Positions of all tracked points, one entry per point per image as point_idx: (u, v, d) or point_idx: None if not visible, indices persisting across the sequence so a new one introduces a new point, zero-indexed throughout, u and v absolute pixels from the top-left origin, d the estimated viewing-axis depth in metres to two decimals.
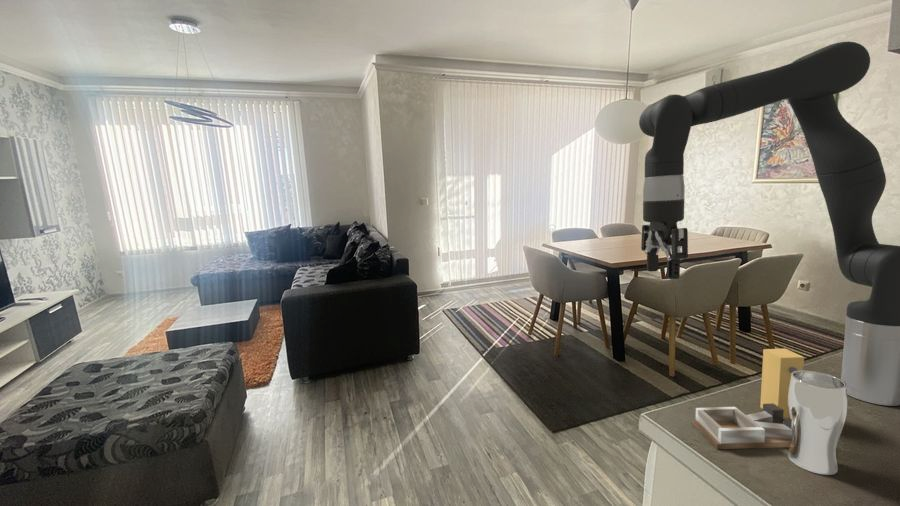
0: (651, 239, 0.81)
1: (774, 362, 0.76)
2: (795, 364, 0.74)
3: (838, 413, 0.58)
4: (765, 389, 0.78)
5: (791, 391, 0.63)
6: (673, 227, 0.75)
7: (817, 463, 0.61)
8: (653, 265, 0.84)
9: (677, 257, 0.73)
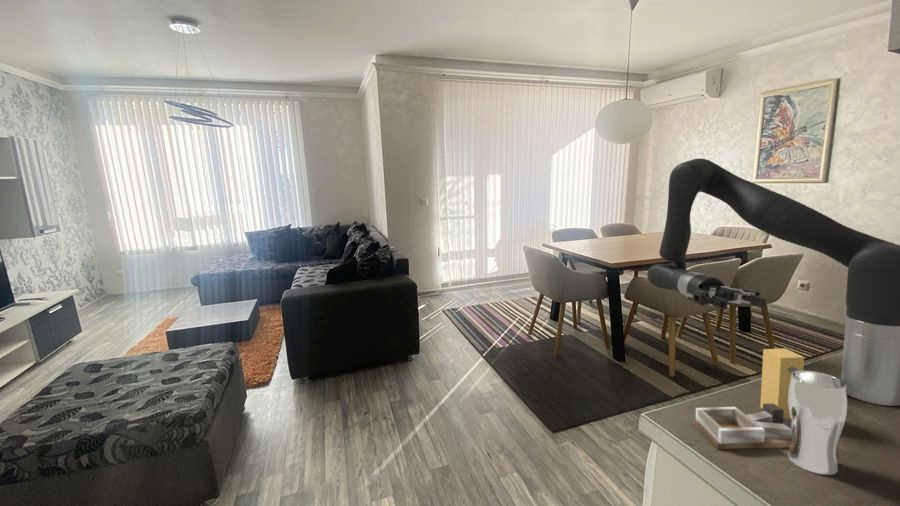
0: (728, 301, 0.93)
1: (774, 362, 0.76)
2: (795, 364, 0.74)
3: (838, 413, 0.58)
4: (765, 389, 0.78)
5: (791, 391, 0.63)
6: (699, 292, 0.96)
7: (817, 463, 0.61)
8: (757, 302, 0.87)
9: (700, 302, 0.91)
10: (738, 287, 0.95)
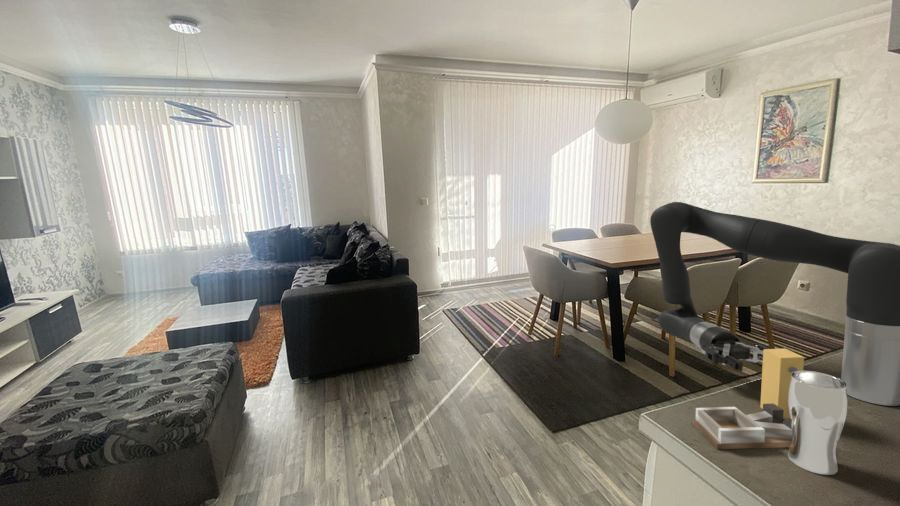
0: None
1: (774, 362, 0.76)
2: (795, 364, 0.74)
3: (838, 413, 0.58)
4: (765, 389, 0.78)
5: (791, 391, 0.63)
6: None
7: (817, 463, 0.61)
8: None
9: (713, 361, 0.87)
10: (754, 343, 0.92)
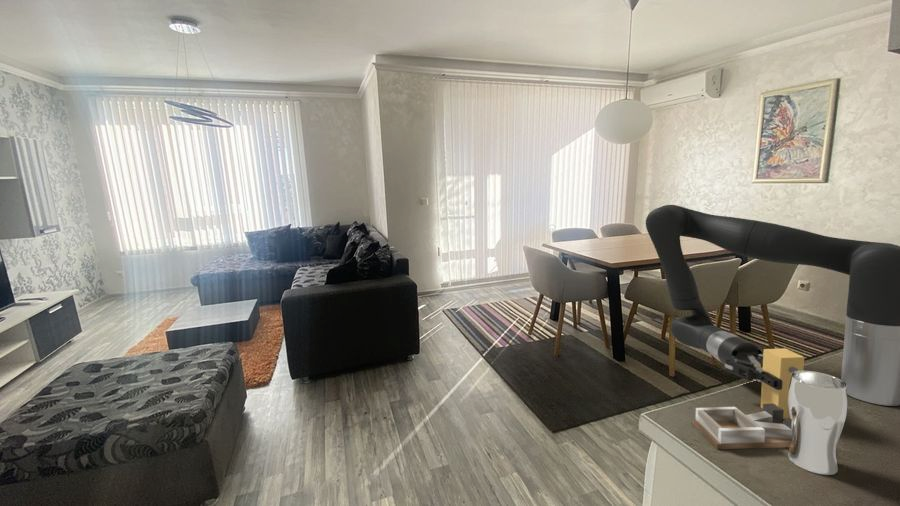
0: None
1: (774, 362, 0.76)
2: (795, 364, 0.74)
3: (838, 413, 0.58)
4: (766, 389, 0.78)
5: (791, 391, 0.63)
6: (733, 361, 0.85)
7: (817, 463, 0.61)
8: None
9: (748, 378, 0.79)
10: None
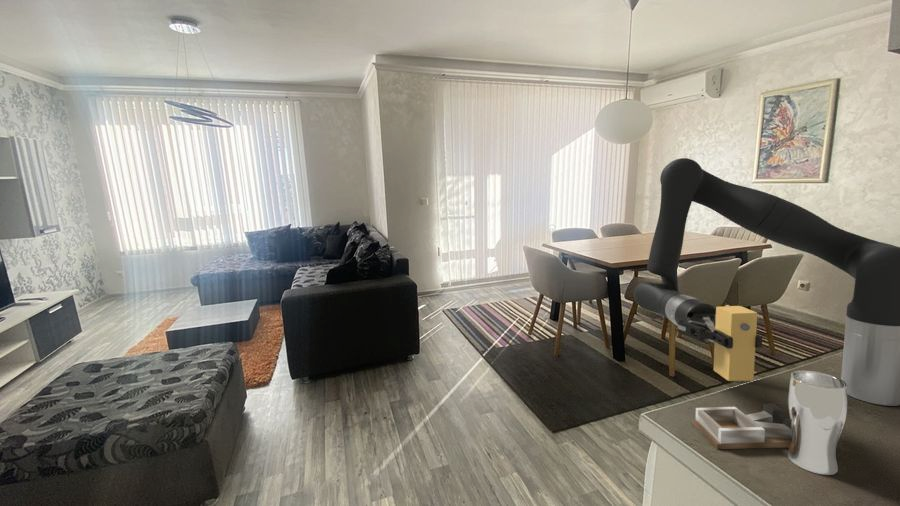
0: None
1: (726, 319, 0.69)
2: (747, 320, 0.68)
3: (838, 413, 0.58)
4: (718, 350, 0.72)
5: (791, 391, 0.63)
6: None
7: (817, 463, 0.61)
8: None
9: (699, 338, 0.73)
10: None
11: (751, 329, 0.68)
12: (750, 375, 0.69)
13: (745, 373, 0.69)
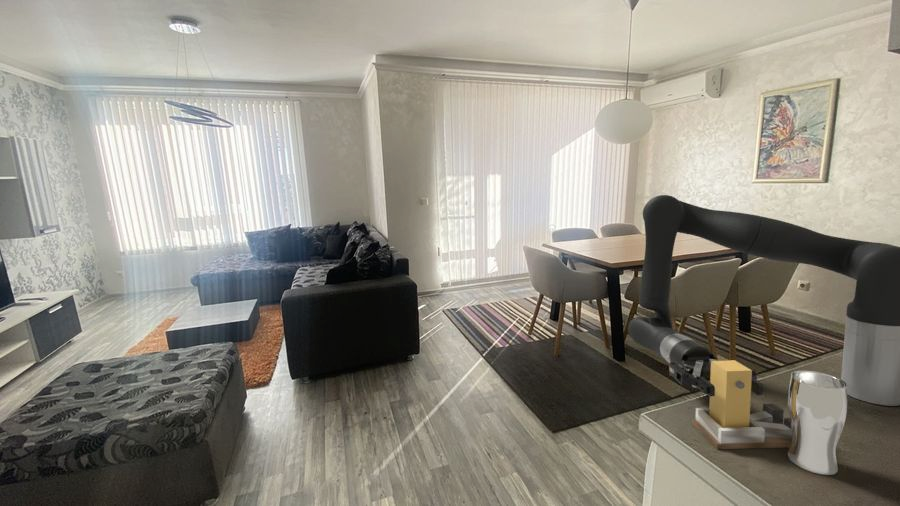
0: None
1: (721, 375, 0.69)
2: (742, 378, 0.68)
3: (838, 413, 0.58)
4: (713, 404, 0.72)
5: (791, 391, 0.63)
6: None
7: (817, 463, 0.61)
8: (753, 386, 0.70)
9: (682, 383, 0.74)
10: None
11: (746, 386, 0.68)
12: None
13: None
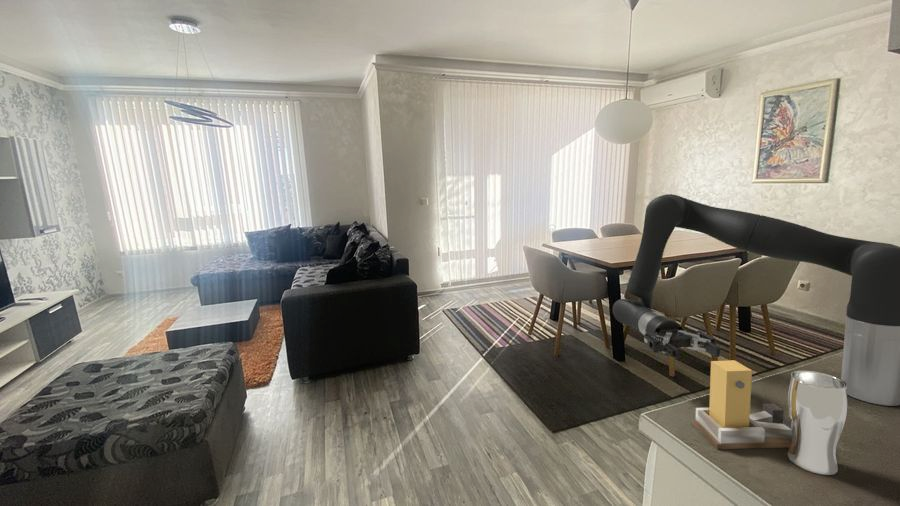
0: (685, 347, 0.89)
1: (721, 375, 0.69)
2: (742, 378, 0.68)
3: (838, 413, 0.58)
4: (713, 404, 0.72)
5: (791, 391, 0.63)
6: None
7: (817, 463, 0.61)
8: (712, 350, 0.83)
9: (654, 350, 0.87)
10: (697, 331, 0.91)
11: (746, 386, 0.68)
12: None
13: None
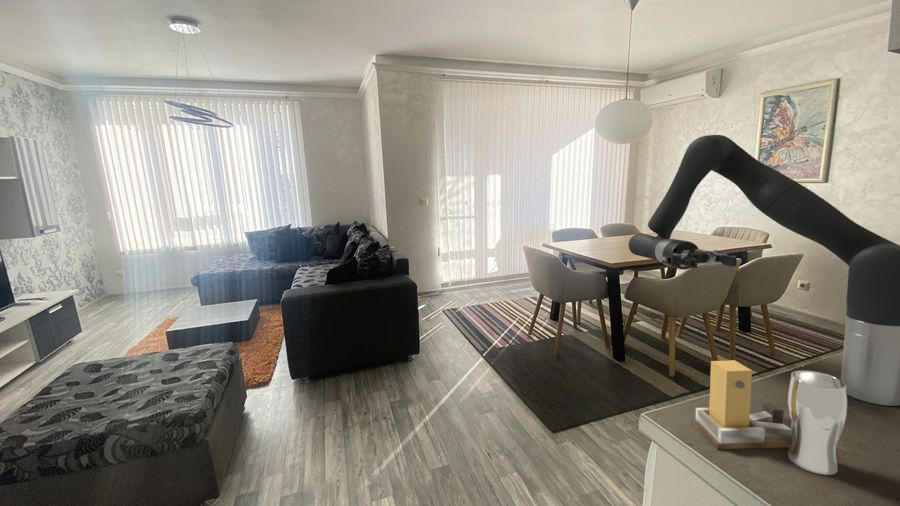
0: (702, 263, 0.93)
1: (721, 375, 0.69)
2: (742, 378, 0.68)
3: (838, 413, 0.58)
4: (713, 404, 0.72)
5: (791, 391, 0.63)
6: None
7: (817, 463, 0.61)
8: (728, 261, 0.87)
9: (672, 264, 0.91)
10: None
11: (746, 386, 0.68)
12: None
13: None
